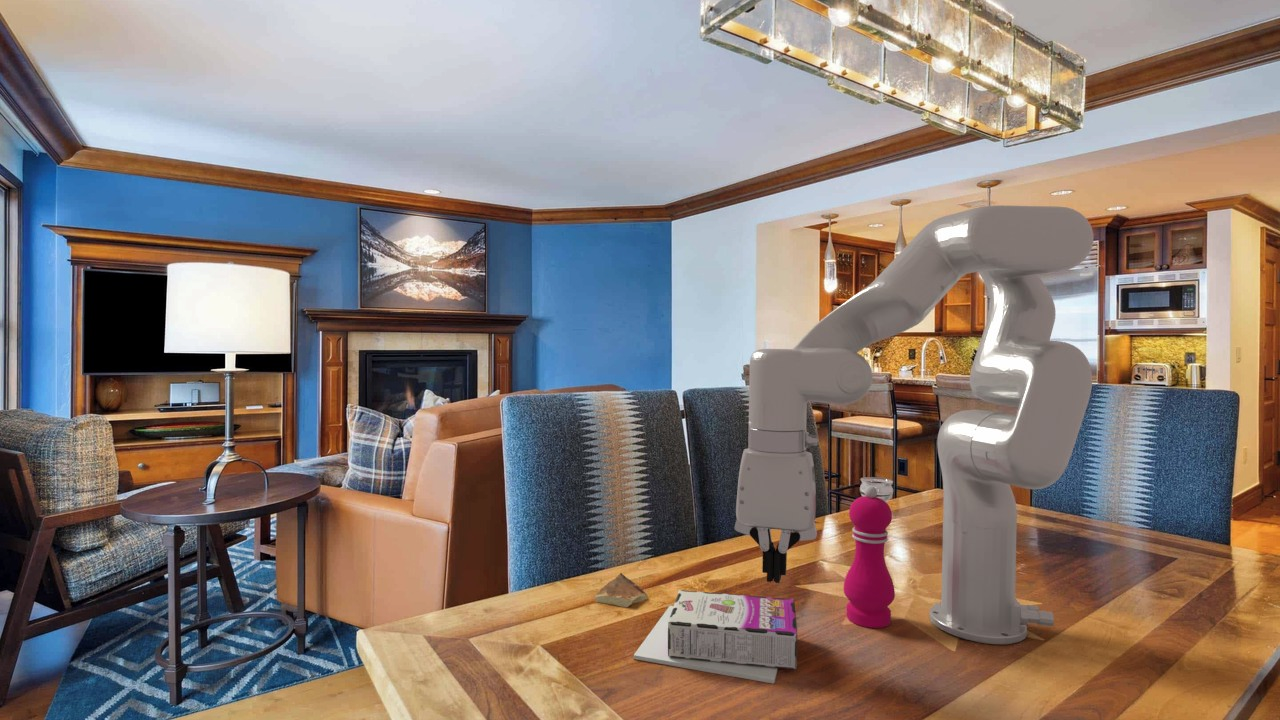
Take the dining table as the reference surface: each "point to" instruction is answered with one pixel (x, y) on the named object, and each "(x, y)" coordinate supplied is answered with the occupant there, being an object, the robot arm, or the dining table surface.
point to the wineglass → (878, 487)
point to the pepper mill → (869, 563)
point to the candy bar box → (733, 629)
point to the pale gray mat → (658, 653)
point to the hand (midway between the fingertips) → (774, 578)
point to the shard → (620, 592)
